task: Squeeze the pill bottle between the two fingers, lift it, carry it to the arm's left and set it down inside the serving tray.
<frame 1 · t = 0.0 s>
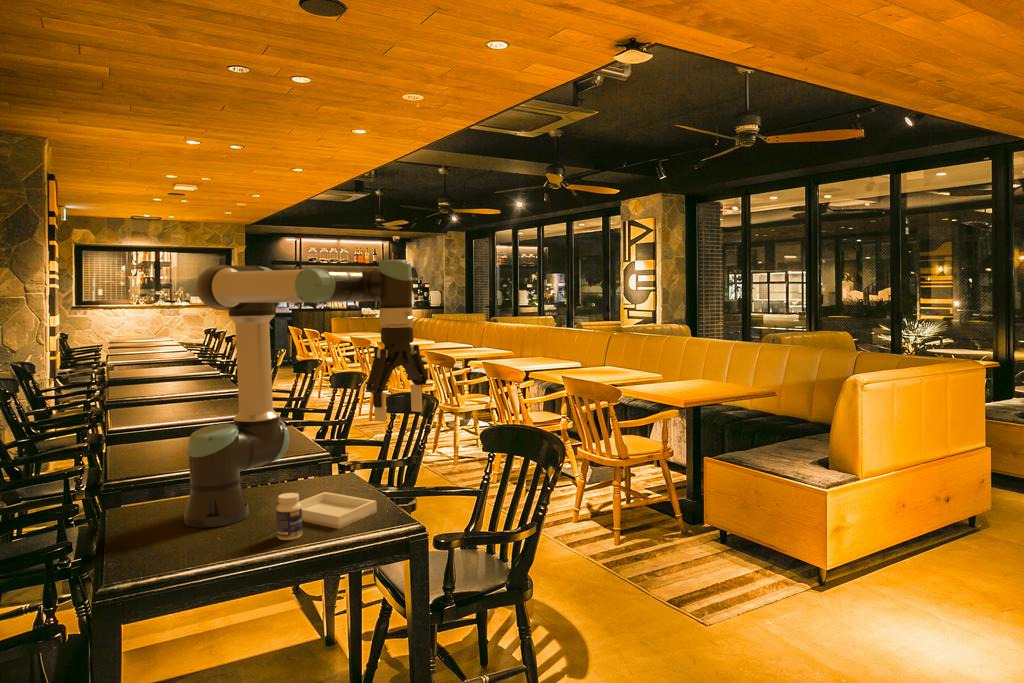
hand: (399, 416, 160), 28 cm above the table, fingers open, 13 cm apart
serving tray: (331, 515, 176), on the table
pill bottle: (290, 537, 161), on the table
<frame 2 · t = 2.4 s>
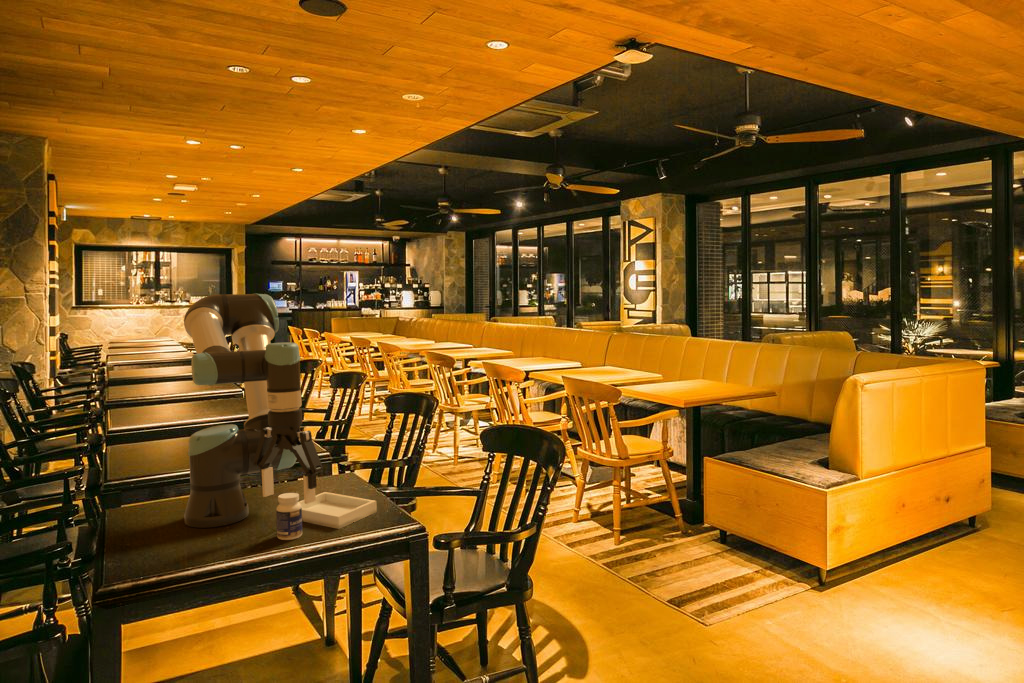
hand: (288, 498, 160), 9 cm above the table, fingers open, 13 cm apart
nothing on the table moved.
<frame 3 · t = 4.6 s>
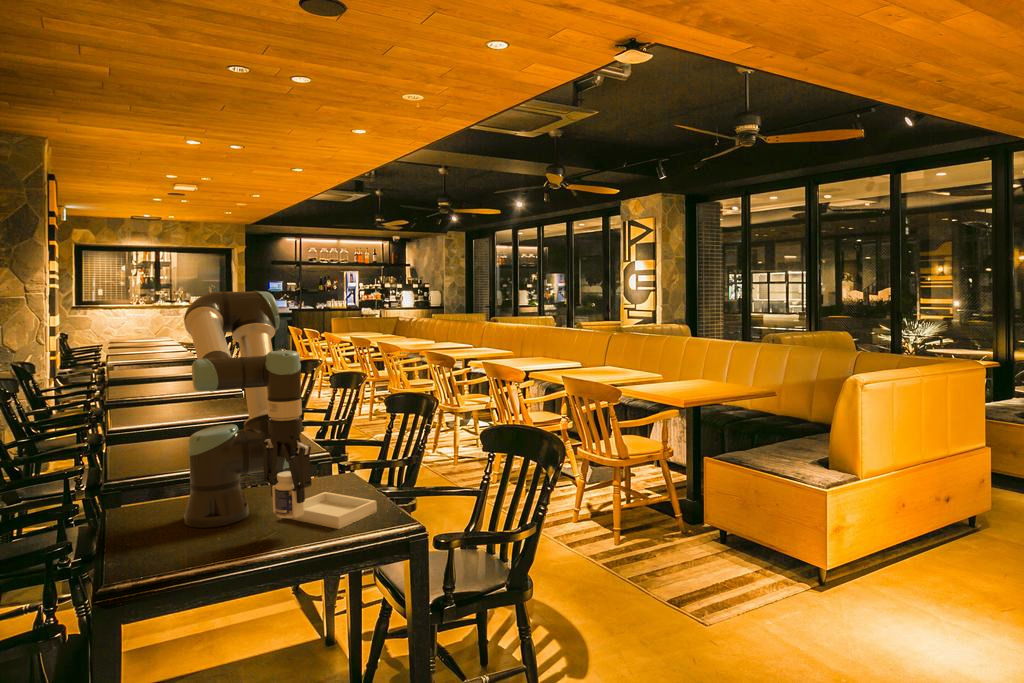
hand: (288, 513, 161), 5 cm above the table, fingers closed on pill bottle, 6 cm apart
pill bottle: (288, 515, 161), point 5 cm above the table, touching gripper
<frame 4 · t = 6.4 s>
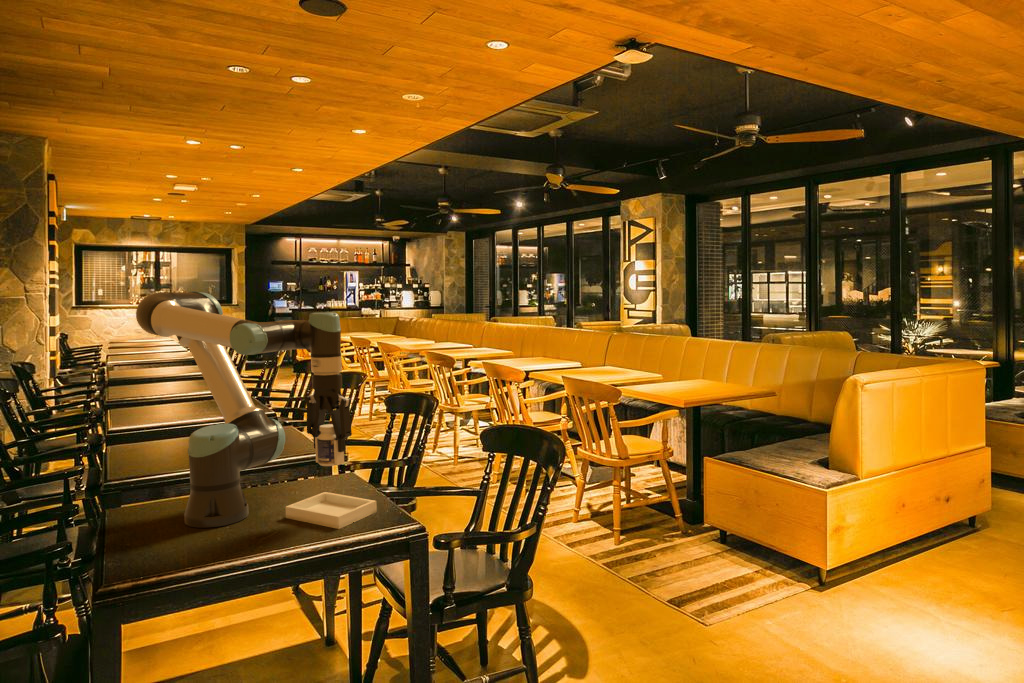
hand: (330, 462, 174), 14 cm above the table, fingers closed on pill bottle, 6 cm apart
pill bottle: (330, 464, 175), point 13 cm above the table, touching gripper
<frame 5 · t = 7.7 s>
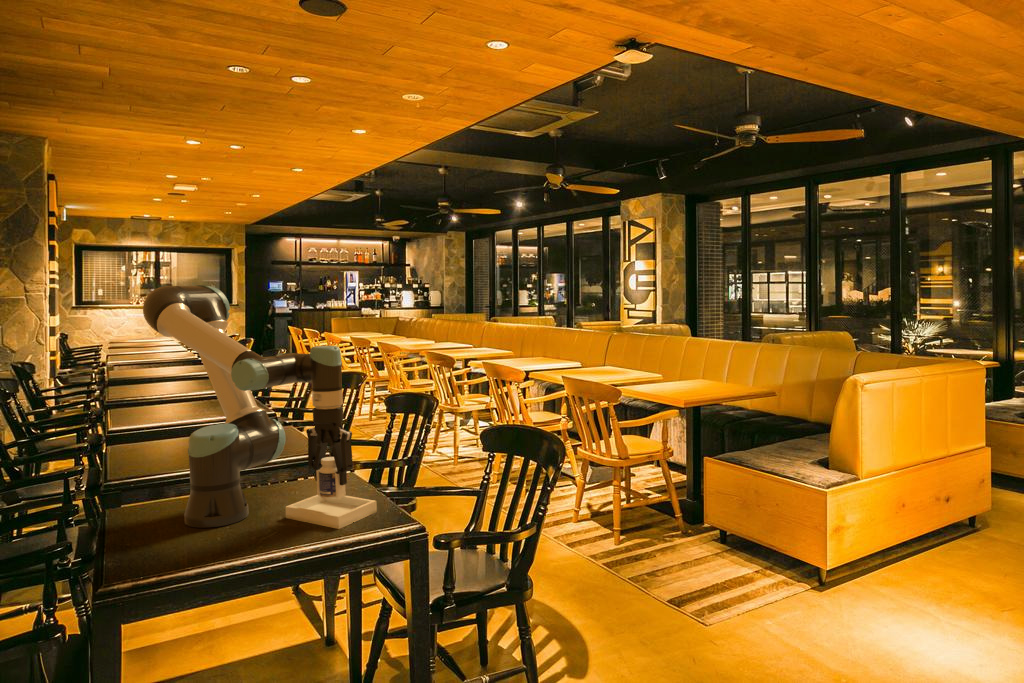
hand: (331, 495, 175), 5 cm above the table, fingers closed on pill bottle, 6 cm apart
pill bottle: (331, 497, 175), point 5 cm above the table, touching gripper
when the fingers open (3 cm above the table, at t = 8.5 s): pill bottle drops 2 cm, resting on serving tray.
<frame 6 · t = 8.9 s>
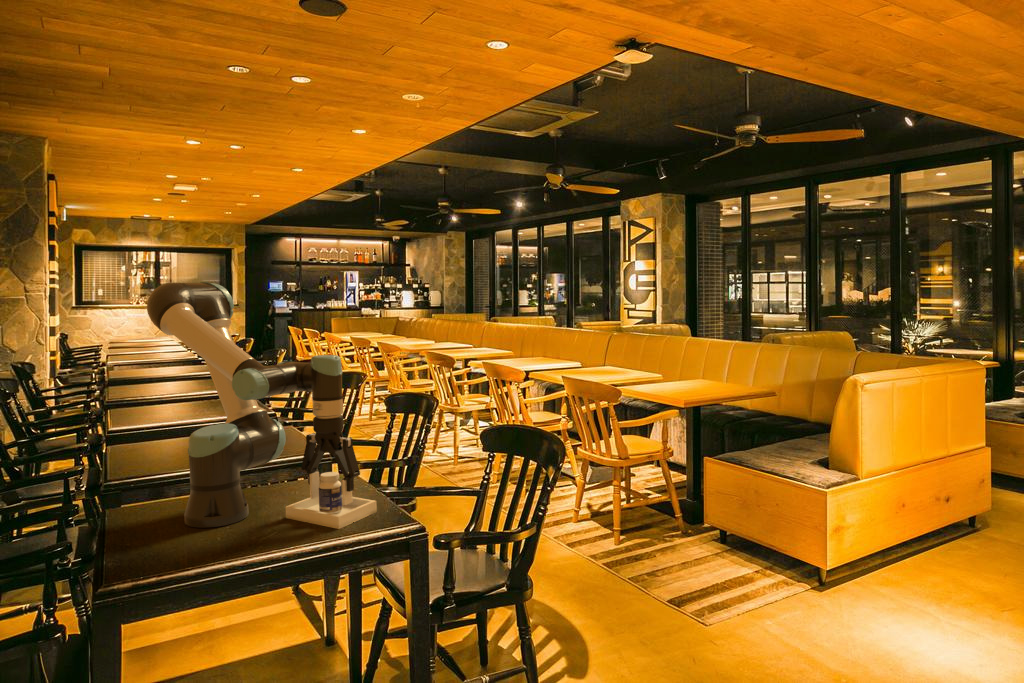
hand: (331, 500, 175), 4 cm above the table, fingers open, 10 cm apart
pill bottle: (331, 512, 176), point 1 cm above the table, touching serving tray
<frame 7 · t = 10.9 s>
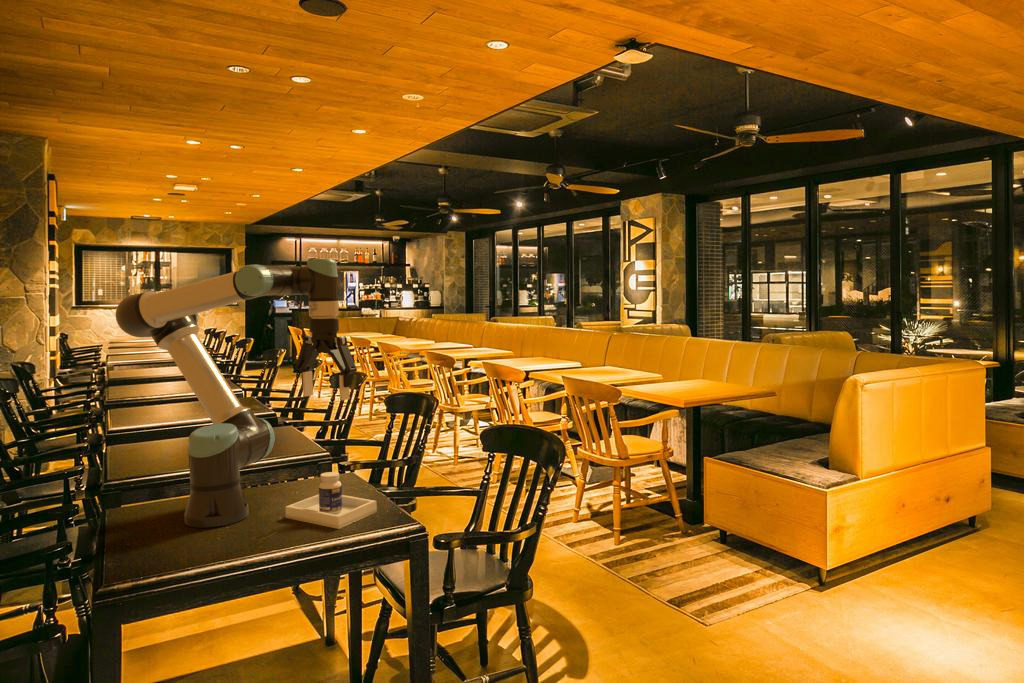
hand: (326, 397, 180), 30 cm above the table, fingers open, 13 cm apart
nothing on the table moved.
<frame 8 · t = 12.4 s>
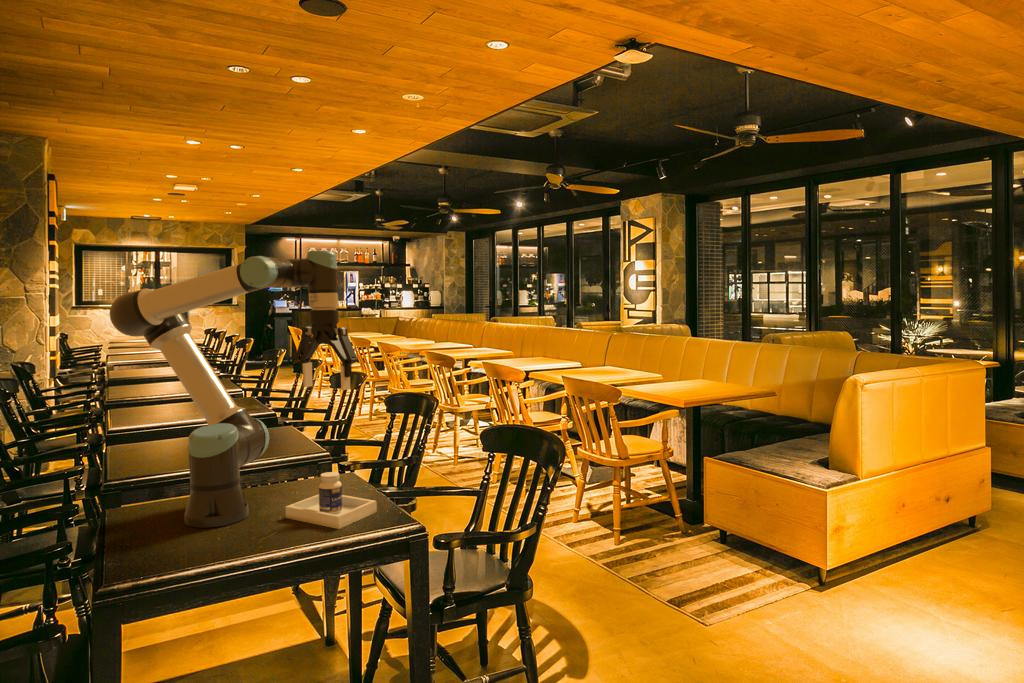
hand: (326, 388, 183), 32 cm above the table, fingers open, 13 cm apart
nothing on the table moved.
at the end: pill bottle inside the target area on the serving tray (0.3 cm from its centre), point 0.6 cm above the serving tray's base; pill bottle tilted 0°; the gripper is holding nothing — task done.
